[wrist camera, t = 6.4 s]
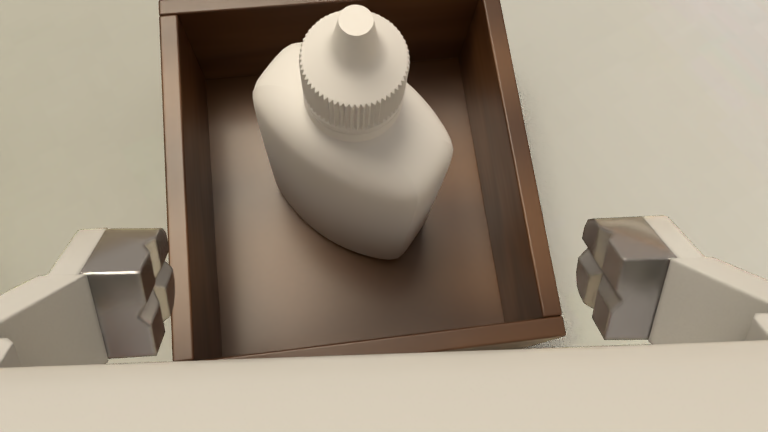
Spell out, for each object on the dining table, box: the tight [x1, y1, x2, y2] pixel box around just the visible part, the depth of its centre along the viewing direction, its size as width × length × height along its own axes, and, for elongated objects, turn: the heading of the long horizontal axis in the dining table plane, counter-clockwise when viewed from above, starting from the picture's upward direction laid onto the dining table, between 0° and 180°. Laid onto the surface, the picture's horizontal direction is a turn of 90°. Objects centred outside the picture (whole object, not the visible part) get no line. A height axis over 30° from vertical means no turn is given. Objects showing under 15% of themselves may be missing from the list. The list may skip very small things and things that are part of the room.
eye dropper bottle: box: [253, 5, 453, 260], centre depth 19 cm, size 4×6×12 cm
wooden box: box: [159, 0, 566, 361], centre depth 22 cm, size 12×11×5 cm
